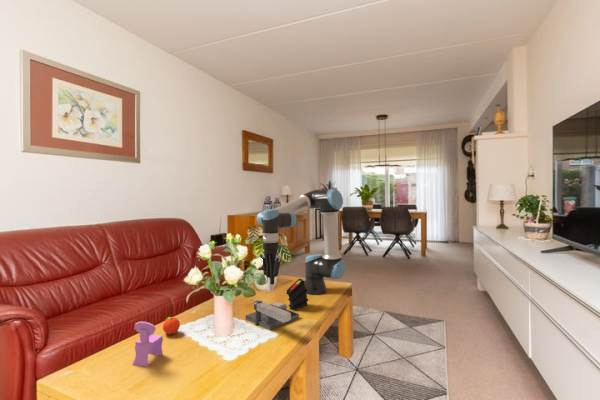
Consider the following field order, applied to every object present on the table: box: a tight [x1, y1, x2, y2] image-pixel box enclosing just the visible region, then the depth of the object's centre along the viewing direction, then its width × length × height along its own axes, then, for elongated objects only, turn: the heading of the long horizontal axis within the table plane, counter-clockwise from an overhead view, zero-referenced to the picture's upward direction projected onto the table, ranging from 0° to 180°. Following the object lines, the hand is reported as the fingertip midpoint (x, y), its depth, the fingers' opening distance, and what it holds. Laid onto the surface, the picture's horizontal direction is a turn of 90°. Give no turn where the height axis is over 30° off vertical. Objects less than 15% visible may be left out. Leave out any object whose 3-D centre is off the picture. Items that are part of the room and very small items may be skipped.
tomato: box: [162, 316, 181, 335], centre depth 132 cm, size 8×7×7 cm
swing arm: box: [253, 300, 291, 323], centre depth 135 cm, size 22×4×3 cm, turn 44°
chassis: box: [245, 301, 300, 331], centre depth 148 cm, size 20×18×7 cm
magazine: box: [286, 278, 309, 311], centre depth 163 cm, size 4×13×15 cm, turn 136°
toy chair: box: [132, 321, 164, 368], centre depth 111 cm, size 8×9×15 cm
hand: (270, 290), depth 144 cm, fingers closed
